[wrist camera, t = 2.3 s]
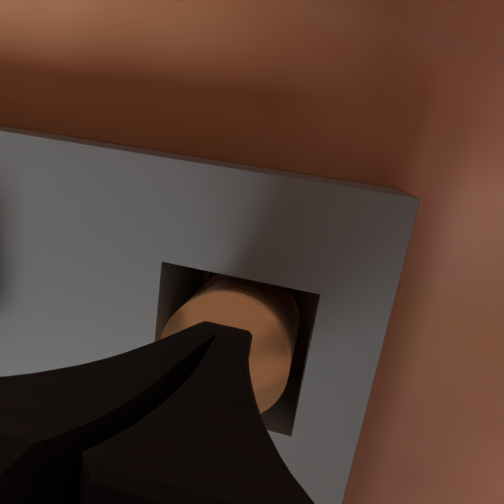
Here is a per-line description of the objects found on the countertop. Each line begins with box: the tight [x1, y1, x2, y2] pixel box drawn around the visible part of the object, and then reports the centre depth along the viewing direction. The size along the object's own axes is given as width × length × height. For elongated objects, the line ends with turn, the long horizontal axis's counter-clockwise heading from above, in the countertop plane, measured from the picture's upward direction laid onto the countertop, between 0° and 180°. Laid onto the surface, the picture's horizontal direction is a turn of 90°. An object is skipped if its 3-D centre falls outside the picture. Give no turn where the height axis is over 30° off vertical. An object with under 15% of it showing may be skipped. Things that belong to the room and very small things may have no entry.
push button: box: [161, 273, 299, 414], centre depth 12 cm, size 4×4×3 cm
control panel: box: [0, 126, 420, 504], centre depth 13 cm, size 18×18×5 cm
